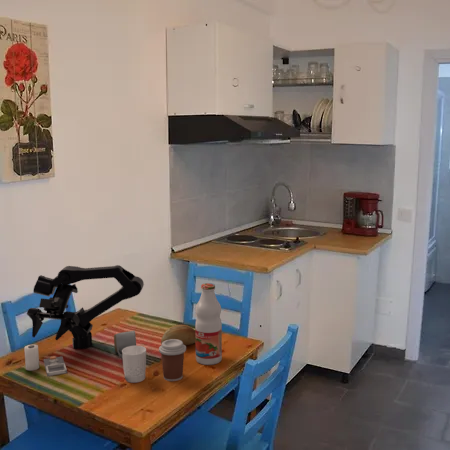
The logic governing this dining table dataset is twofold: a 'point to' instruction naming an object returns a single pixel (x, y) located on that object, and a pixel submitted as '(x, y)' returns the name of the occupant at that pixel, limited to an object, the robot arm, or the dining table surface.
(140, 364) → the white cup
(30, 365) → the cream cylinder
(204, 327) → the fruit juice
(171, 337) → the bread roll
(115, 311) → the dining table surface
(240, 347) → the dining table surface
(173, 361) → the coffee cup
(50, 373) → the power strip
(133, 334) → the ceramic mug
